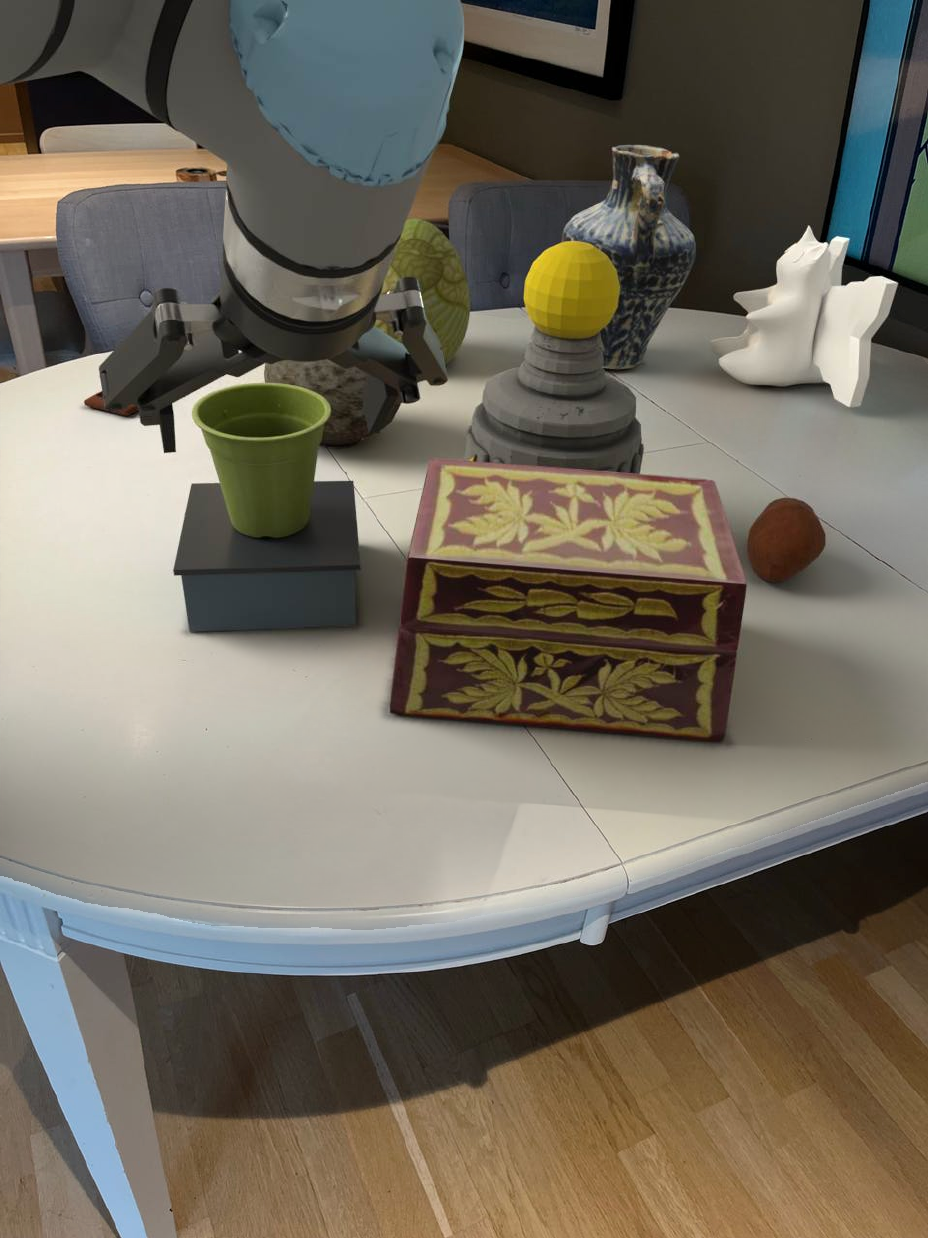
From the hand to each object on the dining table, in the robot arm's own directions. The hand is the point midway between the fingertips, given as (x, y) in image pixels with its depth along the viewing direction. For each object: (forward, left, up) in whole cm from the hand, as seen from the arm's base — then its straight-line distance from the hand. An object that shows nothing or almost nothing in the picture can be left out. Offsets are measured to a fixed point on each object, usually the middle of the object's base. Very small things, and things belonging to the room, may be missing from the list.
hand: (271, 423), depth 64 cm
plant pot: (-2, +19, -18) cm, 26 cm away
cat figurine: (+72, +71, -25) cm, 104 cm away
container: (-2, +19, -25) cm, 31 cm away
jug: (+48, +79, -25) cm, 96 cm away
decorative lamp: (+27, +29, -25) cm, 47 cm away
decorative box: (+23, +5, -25) cm, 35 cm away
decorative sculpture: (+17, +80, -25) cm, 85 cm away
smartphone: (-21, +67, -25) cm, 74 cm away
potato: (+50, +19, -25) cm, 59 cm away
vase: (+5, +53, -25) cm, 59 cm away
